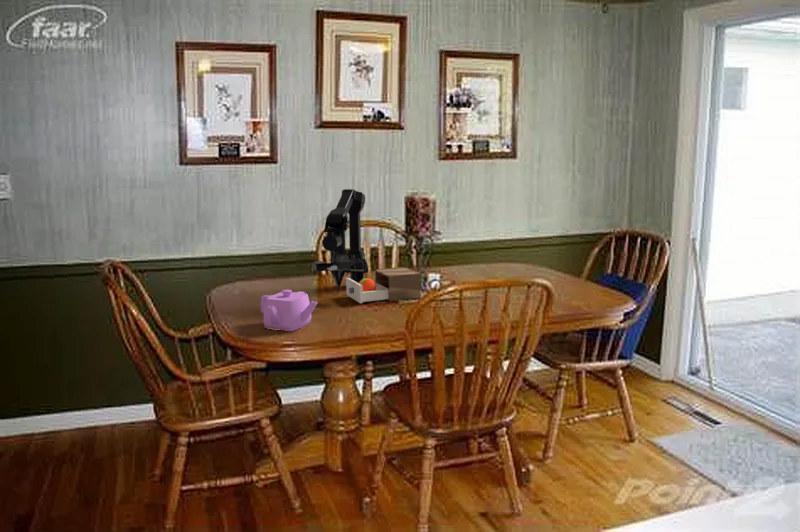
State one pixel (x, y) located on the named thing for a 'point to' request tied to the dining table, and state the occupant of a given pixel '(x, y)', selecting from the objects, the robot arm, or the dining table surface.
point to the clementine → (367, 284)
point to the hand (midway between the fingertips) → (338, 286)
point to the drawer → (357, 293)
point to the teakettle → (287, 310)
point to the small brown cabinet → (399, 283)
